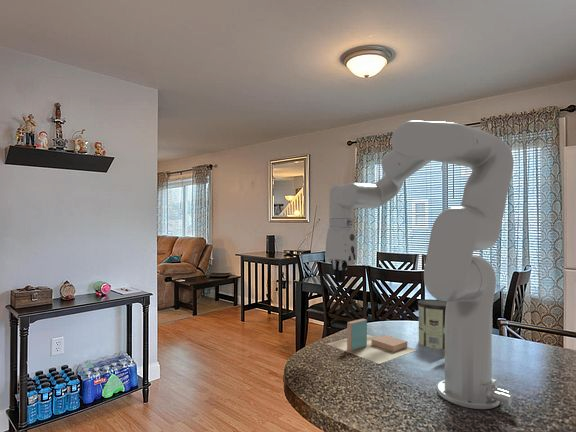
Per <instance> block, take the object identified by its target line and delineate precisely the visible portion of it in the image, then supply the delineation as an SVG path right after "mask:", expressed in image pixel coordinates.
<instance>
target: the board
mask: <svg viewBox="0 0 576 432" xmlns="http://www.w3.org/2000/svg"><path fill="white" fill-rule="evenodd" d="M374 338H377V336H374V335H370V334H367V346H366V347H362V348H359V349H356V350H353V351H350V350H347V338H344V339H340V340H337V341H332V342H329V343H326V345H327V346H331V347H333V348H335V349H338V350H341V351H344V352H346V353H348V354H349V353H350V354H351V355H354V356H356V357H360V358H362V359H365V360H367V361H370V362H373V363H375V364H378V365H380V364H383V363H387V362H388V361H391V360H394V359H397V358H399V357H402V356H405V355H408V354H410V353H413V352H416V351H417V349H416V348H413V347H409V346H407V347H406V348H404V349H401V350H398V351H395V352H392V351H389V350H386V349H383V348H380V347H377V346H374V345H372V344H371V339H374Z"/></svg>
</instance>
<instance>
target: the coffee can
mask: <svg viewBox="0 0 576 432" xmlns="http://www.w3.org/2000/svg"><path fill="white" fill-rule="evenodd" d="M417 304H418V344H419V345H421V346H423V347H426V348H430V349H436V350H445V310H446V305H447V302H444V301H440V300H437V299H435V298H434V299H430V298H429V299H428V298H427V299H420V300H418V301H417Z"/></svg>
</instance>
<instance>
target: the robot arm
mask: <svg viewBox="0 0 576 432" xmlns="http://www.w3.org/2000/svg"><path fill="white" fill-rule="evenodd" d="M390 143H391V145H390V146H391V148H392V150H390V151H389V152H388V153H387V154H385V155H384V156H383V158H382V160H381V163H380V164H381V168H382V171H383V173H384V176H383V177H382V178H380V179H379V180H377V181H376V182H375V183H374V184H373V183H362V182H349V183H346V184H337V185H335V184H334V185H332V186H331V187H329V199H328V200H329V209H328V210H329V211H328V213H329V214H328V215H329V216H328V228H327V233H326V238H325V257H326V258H327V259H326V261H327V262H328V263H330V264H331V265H332V268H333V270H334V283H338V284H342V283H345V282H346V270H347V269H348V267H350V266H353V265H355V261H356V260H357V258H358V241H357V233H356V230H355V229H354V226H355V223H356V222H355V221H354V209H368V210H369V209H370V210H371V209H373V210H374V209H377V208H380V207H382V206H383V205H385V204H387V203H388V202H390V201H391V200H392V199H394V198H395V197H396V196H397V195H398V194H399V192H400V191H401V189H402V187H403V185H404V181H406V180H407V179H408V178H410V177H411V176H412V175H414V174H415V173H417V172H418V171H420V170H421V169H422V168H424V167H425V166H426V165H428V164H429V163H430V162H438V163H444V164H449V165H455V166H462V167H468V168H470V169H471V174H469V177H468V178H467V180H466V182H465V185H464V188H463V194H462V199H461V204H460V205H459V206H452V207H448V208H446V209H445V210H443V211H442V212H440V213H439V215H437V216H436V218H435V220H434V222H433V224H432V227H431V231H430V236H429V240H428V241H429V242H428V247H427V252H426V257H425V262H424V269H423V283H424V286H425V288H426V290H427V291H428V294H429V295H430V296H431V297H433V298H434V299H435V300H440V301H444V302H447V305H446V310H445V349H444V380H442V381H439V382H438V384H437V386H436V387H437V389H436V390H437V392H438V395H439V396H440V397H441V398H442V399H444V400H446V401H448V402H449V403H452V404H455V405H457V406H460V407H463V408H468V409H472V410H473V409H476V410H490V409H491V410H492V409H494V408H496V407H498V406H499V405H500V404H501V403H502V404H505V405H506V406H511V405H512V402H513V396H512V395H511V391H509V390H506V389H502V388H500V387H499V386H497V382H498V381H497V379H495V378H493V376H492V374H493V373H492V371H493V370H492V368H493V365H492V364H493V363H492V362H493V359H492V358H493V355H492V353H493V352H492V350H493V343H492V341H493V340H492V338H493V337H492V336H493V335H492V334H493V333H492V332H493V331H492V330H493V308H494V307H493V306H494V300H495V299H494V298H495V293H496V286H497V276H496V273H495V269H494V267H493V266H492V265H491V263H490V262H489V261H488V260H487V259H485V258H483V257H481V256H479V255H476V254H474V252H475V251H477V252H478V251H484V250H488V249H490V248H492V247H494V246H495V245H496V243H497V242H498V240H499V237H500V232H501V229H502V223H503V218H504V214H505V210H506V209H505V208H506V203H507V197H508V194H509V193H508V192H509V188H510V183H511V181H512V176H513V172H514V163H515V162H514V157H513V153H512V150H511V148H510V147H509V145H508V144H507V143H506V142H505V141H504V140H503V139H501V138H500V137H498V136H496V135H494V134H493V133H491V132H488V131H485V130H482V129H479V128H475V127H472V126H468V125H464V124H462V123H457V122H448V121H447V122H446V121H427V120H426V121H424V120H407V121H405V122H403V123H401V124H400V125H399V126H397V127H396V128H395V129H394V131H393V132H392V135H391V139H390Z"/></svg>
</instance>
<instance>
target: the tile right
mask: <svg viewBox="0 0 576 432" xmlns="http://www.w3.org/2000/svg"><path fill="white" fill-rule="evenodd" d="M376 337H377V336H376ZM371 344H372V345H374V346H377V347H380V348H383V349H386V350H389V351H392V352H395V351H398V350H401V349H404V348H406V347H408V341H407V340H404V339H400V338H398V337H393V336H390V335H386V334H384V335H381V336H378V337H377V338H374V339H371Z"/></svg>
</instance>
